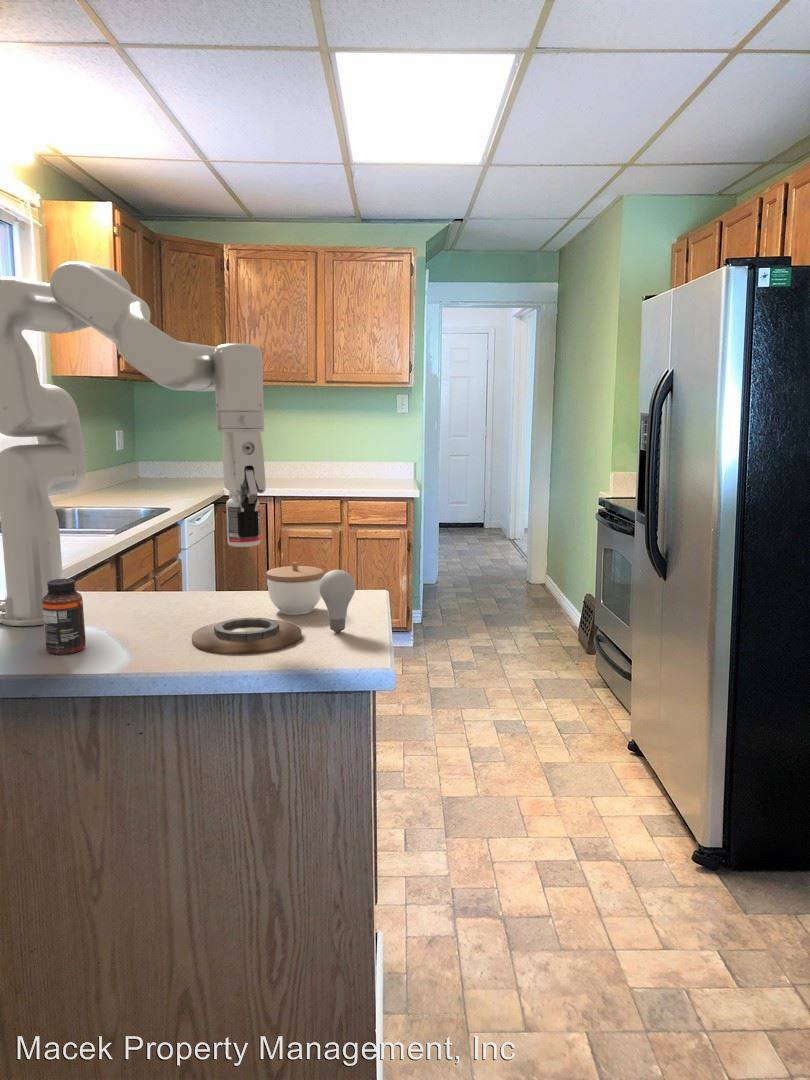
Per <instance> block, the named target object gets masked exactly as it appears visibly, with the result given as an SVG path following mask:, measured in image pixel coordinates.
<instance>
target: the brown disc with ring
mask: <svg viewBox="0 0 810 1080" xmlns="http://www.w3.org/2000/svg"><path fill="white" fill-rule="evenodd" d="M301 638H302V628H301V627H300V626H299V625H297V624H295V623H292V622H290V621H285V620H278V619H270V618H267V617H241V618H232V619H228V620H223V621H219V622H214V623H212V624H207V625H204V626H201V627H200V628H197V629H196V630H194V631H193V632H192V633H191V644H192V646H194V647H195V648H197V649H199V650H201V651H205V652H210V653H215V654H231V655H239V654H240V655H242V654H244V655H245V654H258V653H266V652H272V651H276V650H280V649H283V648H284V649H285V648H288V647H290V646H292V645H294V644H297V643H298V642H299V641H300V640H301Z"/></svg>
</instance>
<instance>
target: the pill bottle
mask: <svg viewBox="0 0 810 1080" xmlns="http://www.w3.org/2000/svg"><path fill="white" fill-rule="evenodd" d="M241 492H247V489H242V491H241ZM230 493H231V494H230V495H232V498H231V499H229V498H228V500H226V503H225V507H226V509H225V510H226V511H225V513H226V534H227V535H226V538H227V544H228V546H230V547H235V548H238V547H239V548H244V547H245V548H246V547H249V548H250V547H255V546H256V547H257V546H258V545H261V516H260V515H261V512H260V511H261V507H260V505H261V504H260V501H259V500H258V499H257V505H258V531H259V534H258V536H255V537H239V536H238V514H237V512H240V511H239V502H238V494H236V493H234V492H232V491H230ZM244 499H245V497H243V503H244Z"/></svg>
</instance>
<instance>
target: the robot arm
mask: <svg viewBox="0 0 810 1080" xmlns="http://www.w3.org/2000/svg"><path fill="white" fill-rule="evenodd" d="M150 321H151V310H150V306H149V305H148V304H147V302H146V301H145V300H143V299H142V298H141V297H139V296H137V295H136V294H134V293H133V292H132V290H131V286H130V284H129V282H128V281H127V279H126V278H125V277H124V276H123V275H122V274H120V273H119V272H117V271H116V270H114V269H111V268H108V267H104V266H103V267H102V266H99V265H95V264H92V263H88V262H84V261H67V262H64V263H61V264H60V265H59V266H57V267H56V268H55V269H54V270H53V272H52V274H51V276H50V280H49V283H47V282H42V281H37V280H33V279H28V278H23V277H16V276H1V277H0V434H2V435H3V436H7V437H10V438H11V437H12V438H35V437H36V439H37V443H34V444H20V445H18V444H17V445H13V446H8V447H7V448H4V449H3V450H1V451H0V526H1V527H0V528H1V536H2V537H1V539H2V540H1V541H2V550H3V551H2V552H3V563H4V574H5V575H4V577H5V588H6V589H5V591H6V593H4V597H0V612H1V613H0V624H3V625H4V626H12V627H32V626H33V627H34V626H44V618H43V605H42V600H43V597H44V596H46V595H47V593H48V586H47V583H48V582H49V581H51V580H56V579H64V578H63V577H64V576H63V562H62V547H61V533H60V523H59V517H58V514H57V512H56V509H55V507H54V505H53V504H52V502H51V500H50V498H49V496H58V495H64V494H69V493H72V492H75V491H76V490H77V489H79V488H80V487H81V485H82V484H83V482H84V481H85V477H86V474H87V469H86V468H87V465H86V464H87V462H86V455H85V448H84V441H83V434H82V428H81V427H82V426H81V421H80V414H79V410H78V407H77V404H76V402H75V400H74V398H73V397H72V396H71V394H70V393H68V392H67V390H65V389H64V388H62V387H60V386H57V385H53V384H46V383H45V384H42V383H41V382H40V377H39V374H38V368H37V367H38V366H37V361H36V358H35V354H34V352H33V350H32V348H31V346H30V344H29V343H28V341H27V340H26V338H25V337H24V335H23V333H22V332H23V331H24V330H27V331H33V332H41V333H49V334H58V335H59V334H60V335H61V334H68V333H73V332H76V331H80V330H83V329H88V328H92V329H94V330H95V331H97V332H98V333H99V334H101V335H103V336H104V337H105V338H107V339H108V340H110V341H111V342H112V343H114V345H115V347H116V350H117V351H118V352H119V354H120V355H121V357H122V359H124V360H125V362H126V363H127V364H128V365H130V366H131V367H133V369H135V370H136V371H138V372H140V373H141V374H142V375H143V376H145V377H147V378H148V379H150V380H151V381H153V382H154V383H156V384H158V385H160V386H161V387H164V388H166V389H169V390H173V391H191V392H215V411H216V412H215V413H216V414H215V415H216V432H217V433H223V435H222V469H223V472H222V473H223V474H222V475H223V483H224V485H223V486H224V488H225V489H226V490H227V491H228V492H229V493H228V496H229V497H228V500H229V499H231V498H232V495H230V494H231V493H230V491H232V492H234V493H236V494H238V502H239V511H240V512H237V514H238V536H239V537H255V536H258V534H259V531H258V505H257V500H258V494H264V492H266V489H267V487H266V484H267V483H266V474H265V473H266V472H265V471H266V469H265V458H264V457H265V456H264V446H263V439H262V434H261V432H265V411H264V409H265V408H264V379H263V377H264V376H263V375H264V374H263V373H264V372H263V370H264V369H263V354H262V350H261V349H260V347H258V346H257V345H255V344H250V343H224V344H223V343H222V344H220V345H217V346H214V345H206V344H199V343H195V342H193V343H192V342H186V341H179V340H177V339H175V338H173V337H171V335H169V334H167V333H165V332H164V331H162V330H161V329H160V328H158V327H157V326H155V325H154V324H152V323H151V322H150ZM242 489H247V492H241V491H242ZM243 497H245V499H244V503H243Z"/></svg>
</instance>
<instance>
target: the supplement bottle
mask: <svg viewBox="0 0 810 1080" xmlns="http://www.w3.org/2000/svg"><path fill="white" fill-rule="evenodd" d="M75 582H76V581H75V579H72V578H63V579H56V580H51V581H49V582H48V583H47V586H48V593H47V595H46V596H44V597H43V600H42V605H43V618H44V625H43V628H44V640H45V651H47V653H48V654H52V655H55V656H56V655H57V656H58V655H60V656H61V655H68V654H74V653H75V654H76V653H78V652H81V651H82V650H84V649H85V648H86V646H87V645H86V644H87V642H86V641H87V640H86V639H87V638H86V628H85V627H86V626H85V615H84V602H83V601H84V600H83V596H82V594H81V592H79V591H77V590H76V589H75V588H76V583H75Z"/></svg>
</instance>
